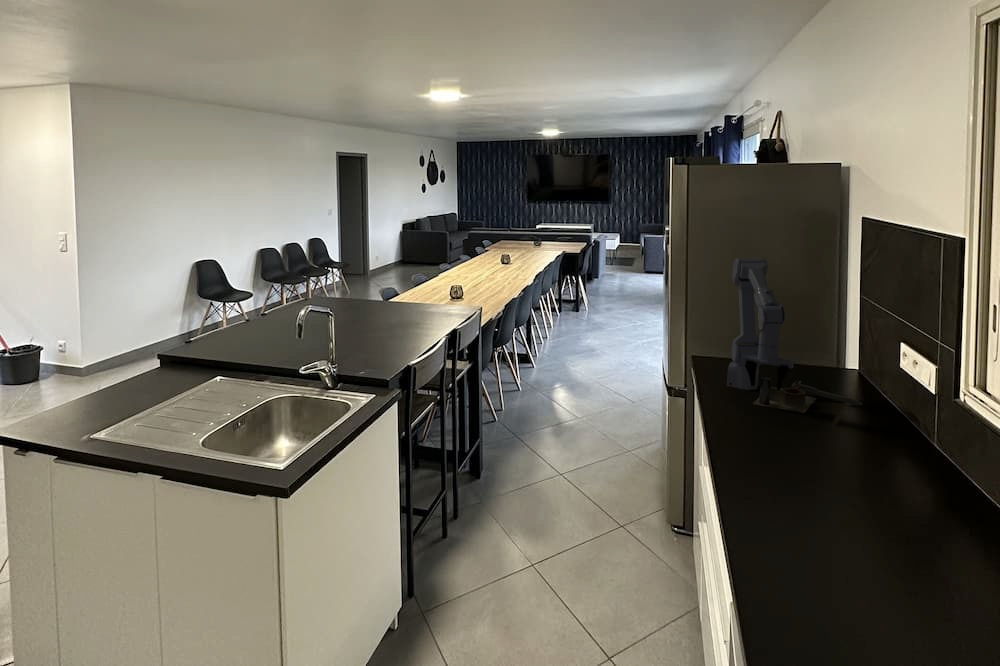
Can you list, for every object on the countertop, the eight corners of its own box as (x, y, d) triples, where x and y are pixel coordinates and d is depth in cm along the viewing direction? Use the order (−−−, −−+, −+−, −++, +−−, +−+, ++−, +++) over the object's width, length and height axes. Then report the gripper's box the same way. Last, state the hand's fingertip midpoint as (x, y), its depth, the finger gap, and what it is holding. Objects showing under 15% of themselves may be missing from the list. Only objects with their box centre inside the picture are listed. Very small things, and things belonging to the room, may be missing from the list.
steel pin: (758, 404, 201) (759, 379, 199) (760, 401, 203) (762, 377, 201) (768, 405, 199) (770, 380, 197) (770, 403, 201) (772, 378, 199)
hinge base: (752, 406, 201) (753, 391, 200) (767, 392, 215) (768, 378, 213) (804, 415, 192) (805, 399, 191) (816, 401, 206) (817, 385, 205)
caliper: (790, 399, 207) (791, 380, 205) (790, 398, 208) (791, 379, 206) (862, 405, 199) (864, 386, 198) (862, 404, 200) (864, 385, 199)
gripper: (740, 343, 198) (737, 386, 201) (791, 350, 189) (787, 394, 192) (747, 339, 203) (744, 381, 206) (796, 345, 195) (793, 388, 198)
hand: (765, 387), depth 200 cm, fingers open, 7 cm apart
